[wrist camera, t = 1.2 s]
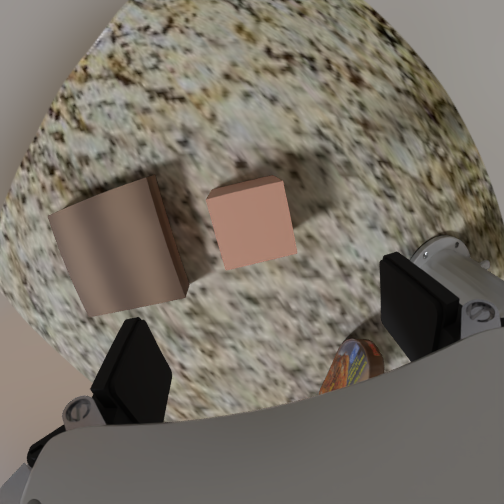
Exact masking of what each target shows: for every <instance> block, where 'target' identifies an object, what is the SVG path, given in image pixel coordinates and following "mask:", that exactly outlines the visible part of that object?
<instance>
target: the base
mask: <svg viewBox="0 0 504 504" xmlns="http://www.w3.org/2000/svg"><path fill="white" fill-rule="evenodd" d="M48 219H49V222H50V225H51V228H52V231H53V234H54V237H55V239H56V242H57V245H58V248H59V250H60V253H61V256H62V258H63V261H64V263H65V266H66V268H67V270H68V273H69V275H70V277H71V280H72V282H73V284H74V287H75V289H76V291H77V293H78V295H79V297H80V300H81V302H82V304H83V306H84V308H85V310H86V312H87V314H88V316H89V317H93V316H98V315H103V314H109V313H114V312H119V311H124V310H129V309H134V308H139V307H144V306H149V305H154V304H159V303H163V302H168V301H173V300H177V299H182V298H186V294H187V291H188V288H189V285H190V284H189V281H188V278H187V276H186V273H185V270H184V267H183V264H182V261H181V258H180V255H179V252H178V249H177V246H176V243H175V240H174V237H173V233H172V230H171V227H170V224H169V221H168V217H167V214H166V211H165V207H164V204H163V201H162V197H161V194H160V190H159V187H158V183H157V180H156V176H155V175H152V176H149V177H146V178H143V179H140V180H137V181H134V182H131V183H128V184H125V185H123V186H120V187H117V188H114V189H112V190H109V191H106V192H104V193H101V194H99V195H96V196H93V197H91V198H88V199H86V200H83V201H81V202H79V203H76V204H74V205H71V206H69V207H67V208H64V209H62V210H60V211H58V212H55V213H53V214H51V215H49V216H48Z"/></svg>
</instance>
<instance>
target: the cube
mask: <svg viewBox="0 0 504 504" xmlns="http://www.w3.org/2000/svg"><path fill="white" fill-rule="evenodd" d="M206 202H207V205H208V209H209V213H210V216H211V220H212V223H213V227H214V231H215V234H216V238H217V241H218V245H219V248H220V252H221V255H222V259H223V262H224V266H225V269H226V270H230V269H234V268H238V267H243V266H247V265H251V264H255V263H259V262H264V261H268V260H272V259H276V258H280V257H284V256H289V255H293V254H297V248H296V243H295V238H294V232H293V227H292V222H291V217H290V212H289V207H288V202H287V198H286V193H285V188H284V183H283V181H282V180H280V179H279V178H277V177H275V176H274V175H271V176H266V177H262V178H258V179H253V180H249V181H245V182H241V183H237V184H233V185H228V186H225V187H221V188H217V189H213V190H211V192H210V194H209V195H208V197H207V199H206Z"/></svg>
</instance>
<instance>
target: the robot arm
mask: <svg viewBox="0 0 504 504" xmlns="http://www.w3.org/2000/svg"><path fill="white" fill-rule="evenodd" d="M489 268H490V263H489V261H488V260H483V261H481V262H480V263H479V262H477V261H475V260H474V259H472V258H470V254H469V251H468V249H467V247H466V246H465V244H464V243H463V242H462V241H461V240H459V239H457V238H455V237H453V236H449V235H442V236H438V237H435V238H433V239H431V240H429V241H428V242H426V243H425V244H424V245H423V246H421V247H420V248H419V250H418V251H417V252H416V253H415V254H414V255H413V257H412V258H411V260H408V259H407V258H406V257H404V256H403V255H401V254H400V253H399V252H394V253H391V254H387V255H384V256H383V260H381V261H380V288H381V321H382V323H383V325H384V327H385V328H386V329H387V330H388V332H389V333H390V334H391V336H392V337H393V338H394V340H395V341H396V342H397V344H398V345H399V346H400V347H401V349H402V350H403V351H404V353H405V354H406V355H407V357H408V358H409V360H410V361H411V362H410V363H408V364H406V365H403V366H401V367H398V368H396V369H393V370H391V371H388V372H386V373H383V374H381V375H378V376H375V377H373V378H370V379H367V380H364V381H361V382H358V383H356V384H353V385H349V386H346V387H343V388H340V389H337V390H334V391H330V392H327V393H324V394H320V395H317V396H313V397H309V398H306V399H302V400H298V401H294V402H290V403H286V404H282V405H277V406H273V407H268V408H263V409H259V410H253V411H248V412H243V413H237V414H231V415H225V416H218V417H211V418H204V419H195V420H186V421H176V422H163V421H164V416H165V410H166V405H167V400H168V395H169V390H170V385H171V380H172V372H171V369H170V367H169V365H168V363H167V362H166V360H165V358H164V356H163V354H162V352H161V350H160V348H159V347H158V345H157V343H156V341H155V339H154V337H153V335H152V333H151V331H150V329H149V327H148V325H147V323H146V321H145V320H141V318H139V317H136V318H131V319H126V320H125V321H124V323H123V325H122V327H121V328H120V330H119V332H118V334H117V336H116V338H115V340H114V342H113V344H112V346H111V348H110V350H109V352H108V354H107V355H106V357H105V359H104V361H103V364H102V366H101V368H100V370H99V372H98V374H97V376H96V378H95V380H94V382H93V384H92V386H91V391H92V393H93V396H92V398H91V397H89V396H80V397H77V398H75V399H73V400H72V401H70V402H69V403H68V404H67V405H66V407H65V409H64V410H63V415H62V417H63V422H64V425H62V426H61V427H59V428H58V429H56V430H55V431H53V432H52V433H50V434H49V435H47V436H45V437H44V438H42V439H41V440H39V441H38V442H36V443H35V444H33V445H32V446H31V447H30V449H29V452H28V454H27V462H28V465H26V464H25V463H23V465H21V467H20V468H19V469H18V470H17V471H16V472H15V473H14V474H13V475H12V476H11V477H10V478H9V479H8V480H7V481H6V482H5V483H4V485H3V486H2V487H1V488H0V504H504V281H503V280H502V279H500V278H499V277H497V276H495V275H494V274H492V273H491V272H489V271H488V270H487V269H489Z"/></svg>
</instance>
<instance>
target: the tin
mask: <svg viewBox="0 0 504 504" xmlns="http://www.w3.org/2000/svg"><path fill="white" fill-rule="evenodd" d="M383 373H384V361H383V357H382V355H381V353H380V351H379V349H378V348H377V346H376V345H375V344H374V343H373V342H372V341H370V340H366V339H353V338H351V339H348V340H346V341H344V342H343V343H342V344H341V346H340V347H339V349H338V351H337V354H336V356H335V358H334V360H333V363H332V365H331V367H330V370H329V372H328V374H327V376H326V378H325V380H324V382H323V384H322V387H321V389H320V391H319V395H320V394H324V393H327V392H330V391H334V390H337V389H340V388H343V387H346V386H349V385H353V384H356V383H358V382H361V381H364V380H367V379H370V378H373V377H375V376H378V375H381V374H383Z"/></svg>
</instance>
